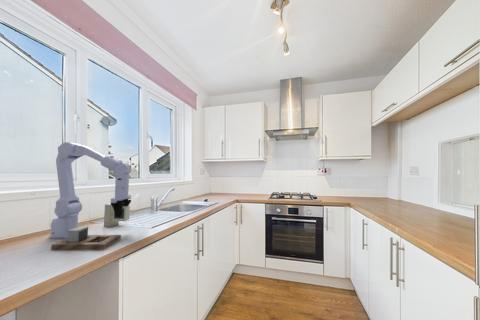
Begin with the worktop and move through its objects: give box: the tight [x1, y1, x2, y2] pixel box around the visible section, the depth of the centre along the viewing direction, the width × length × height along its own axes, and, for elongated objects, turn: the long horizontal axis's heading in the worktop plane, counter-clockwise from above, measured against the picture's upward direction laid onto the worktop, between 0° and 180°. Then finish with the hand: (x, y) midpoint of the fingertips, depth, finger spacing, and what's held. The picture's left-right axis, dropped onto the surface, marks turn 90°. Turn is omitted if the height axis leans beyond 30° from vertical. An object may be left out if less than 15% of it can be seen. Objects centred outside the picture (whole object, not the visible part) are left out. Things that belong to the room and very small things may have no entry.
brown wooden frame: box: [51, 234, 122, 251], centre depth 86 cm, size 20×12×2 cm, turn 92°
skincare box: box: [103, 202, 120, 228], centre depth 116 cm, size 6×4×12 cm
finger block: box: [113, 205, 131, 222], centre depth 100 cm, size 4×6×6 cm, turn 92°
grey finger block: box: [68, 226, 89, 243], centre depth 86 cm, size 4×6×6 cm, turn 2°
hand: (120, 215), depth 100 cm, fingers closed on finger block, 4 cm apart
